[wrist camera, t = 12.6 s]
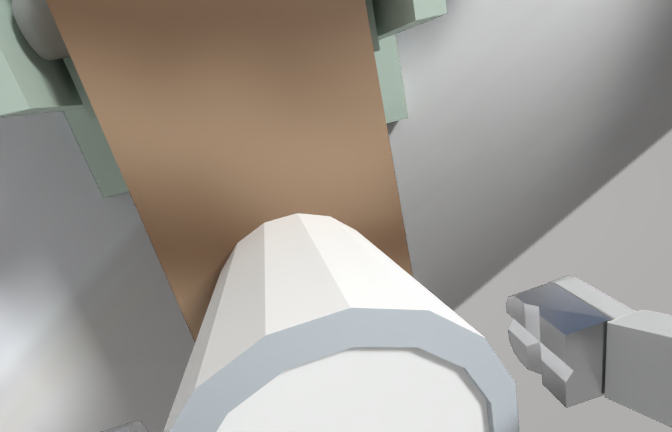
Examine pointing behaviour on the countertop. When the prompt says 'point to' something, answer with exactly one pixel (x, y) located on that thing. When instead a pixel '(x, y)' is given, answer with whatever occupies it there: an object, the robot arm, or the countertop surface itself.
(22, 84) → the pivot stand
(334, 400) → the white cup
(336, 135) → the seesaw beam
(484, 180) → the countertop surface
